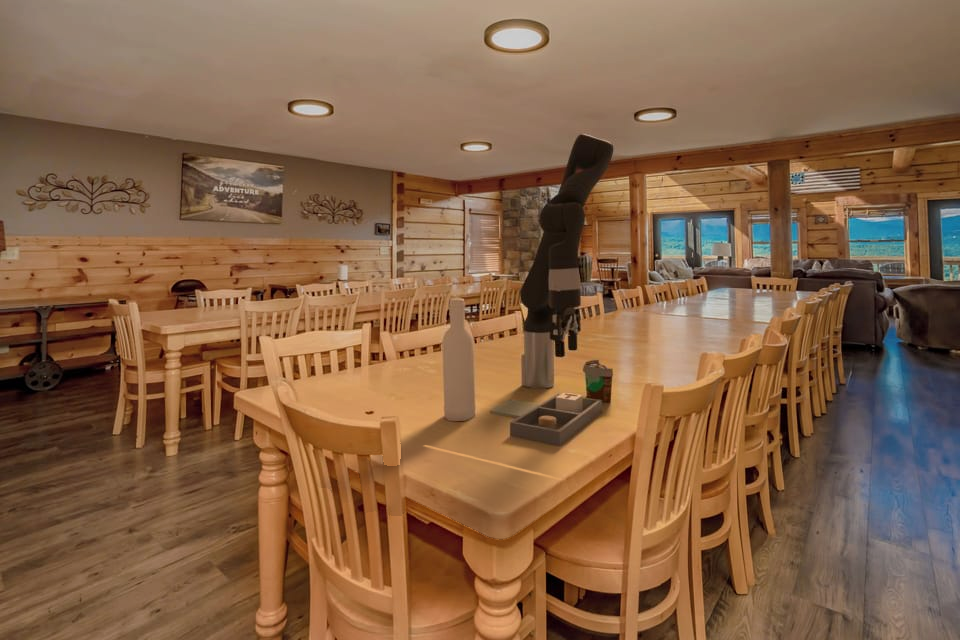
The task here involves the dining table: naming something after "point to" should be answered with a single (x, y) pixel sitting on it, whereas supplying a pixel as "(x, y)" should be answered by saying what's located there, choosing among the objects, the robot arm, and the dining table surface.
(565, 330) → the robot arm
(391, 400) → the dining table surface
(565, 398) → the letter cube
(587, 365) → the food container
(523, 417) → the organiser tray
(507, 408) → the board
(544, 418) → the tan oval stone
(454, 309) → the bottle
